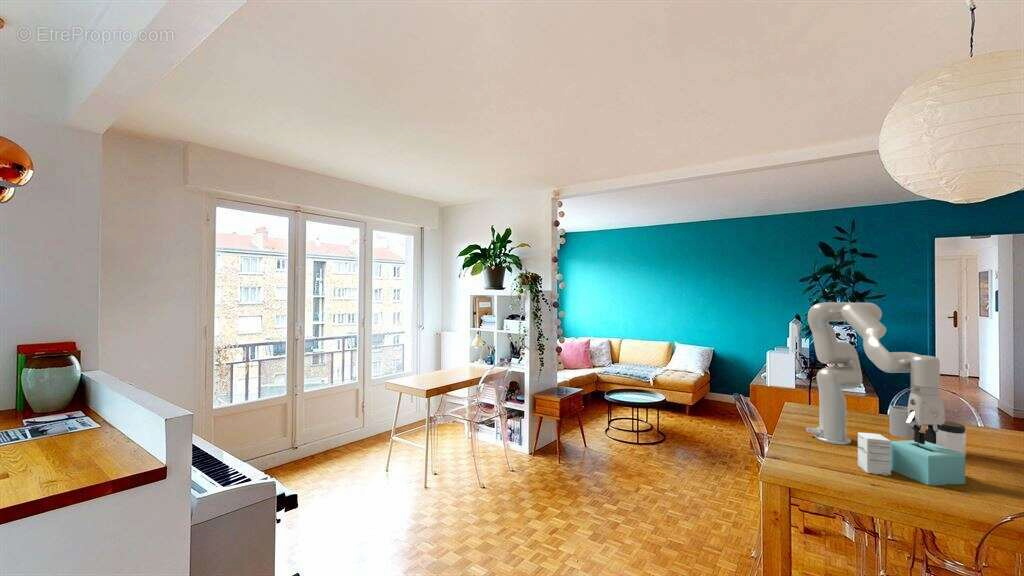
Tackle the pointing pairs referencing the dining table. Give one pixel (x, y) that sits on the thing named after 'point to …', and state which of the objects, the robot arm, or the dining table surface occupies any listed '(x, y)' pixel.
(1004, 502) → the dining table surface
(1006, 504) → the dining table surface
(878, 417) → the dining table surface
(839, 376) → the robot arm
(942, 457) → the coin box
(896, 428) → the cup
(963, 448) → the jar
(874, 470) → the supplement box
